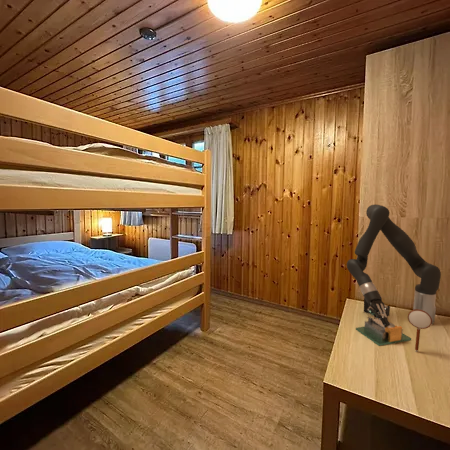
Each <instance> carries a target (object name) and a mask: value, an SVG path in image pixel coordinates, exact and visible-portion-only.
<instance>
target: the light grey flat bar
mask: <svg viewBox="0 0 450 450" xmlns="http://www.w3.org/2000/svg"><path fill="white" fill-rule="evenodd" d="M372 319H373V318H372ZM373 321H374V322H375V323H377V324H378V325H380V326H381V327H383V328H384V329H385V326H384V325H383V324H382V322H381V320H380V319H379V318H374V319H373ZM387 327H388V328H392V327H391V326H387Z"/></svg>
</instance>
